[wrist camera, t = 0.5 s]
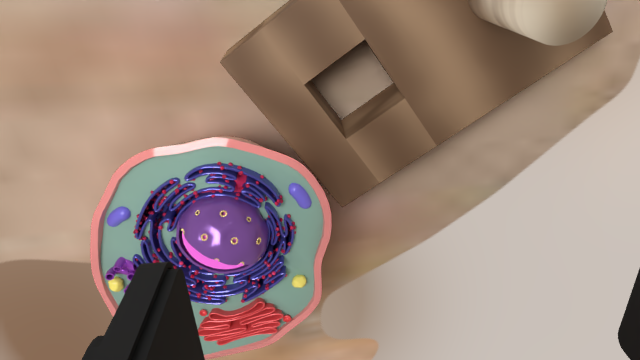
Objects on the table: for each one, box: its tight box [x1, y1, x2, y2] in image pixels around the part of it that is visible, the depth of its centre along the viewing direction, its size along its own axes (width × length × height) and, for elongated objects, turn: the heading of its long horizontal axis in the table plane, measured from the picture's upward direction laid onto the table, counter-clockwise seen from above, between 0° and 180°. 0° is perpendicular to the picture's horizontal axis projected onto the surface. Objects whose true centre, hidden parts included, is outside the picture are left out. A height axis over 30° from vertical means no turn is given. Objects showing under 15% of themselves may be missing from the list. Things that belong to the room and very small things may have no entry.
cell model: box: [90, 136, 332, 359], centre depth 35 cm, size 17×20×11 cm
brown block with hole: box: [220, 0, 613, 207], centre depth 28 cm, size 22×14×12 cm, turn 126°
